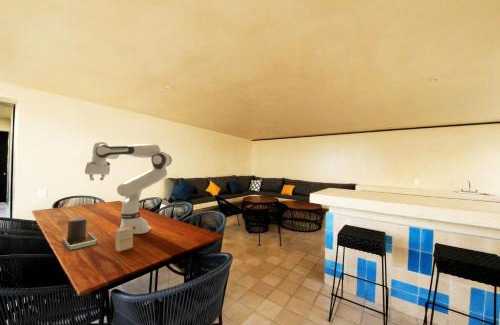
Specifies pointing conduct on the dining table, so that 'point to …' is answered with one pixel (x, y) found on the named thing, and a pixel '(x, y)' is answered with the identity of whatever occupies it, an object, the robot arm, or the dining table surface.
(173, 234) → the dining table surface
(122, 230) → the supplement box
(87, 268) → the dining table surface
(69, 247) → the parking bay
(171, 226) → the dining table surface
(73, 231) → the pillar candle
